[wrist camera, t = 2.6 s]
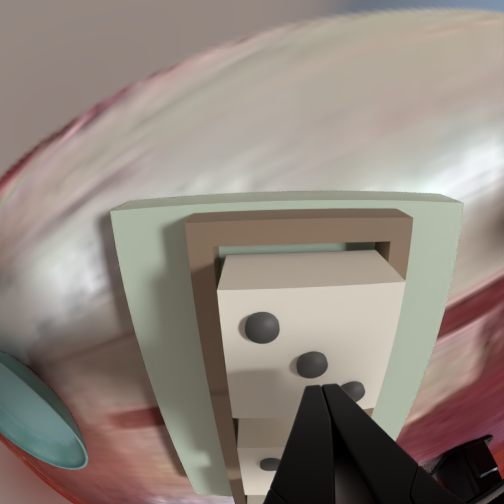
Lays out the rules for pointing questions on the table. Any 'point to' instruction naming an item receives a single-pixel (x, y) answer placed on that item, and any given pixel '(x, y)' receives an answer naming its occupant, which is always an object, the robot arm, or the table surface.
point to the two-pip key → (261, 450)
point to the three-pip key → (306, 327)
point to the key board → (268, 242)
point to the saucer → (38, 417)
